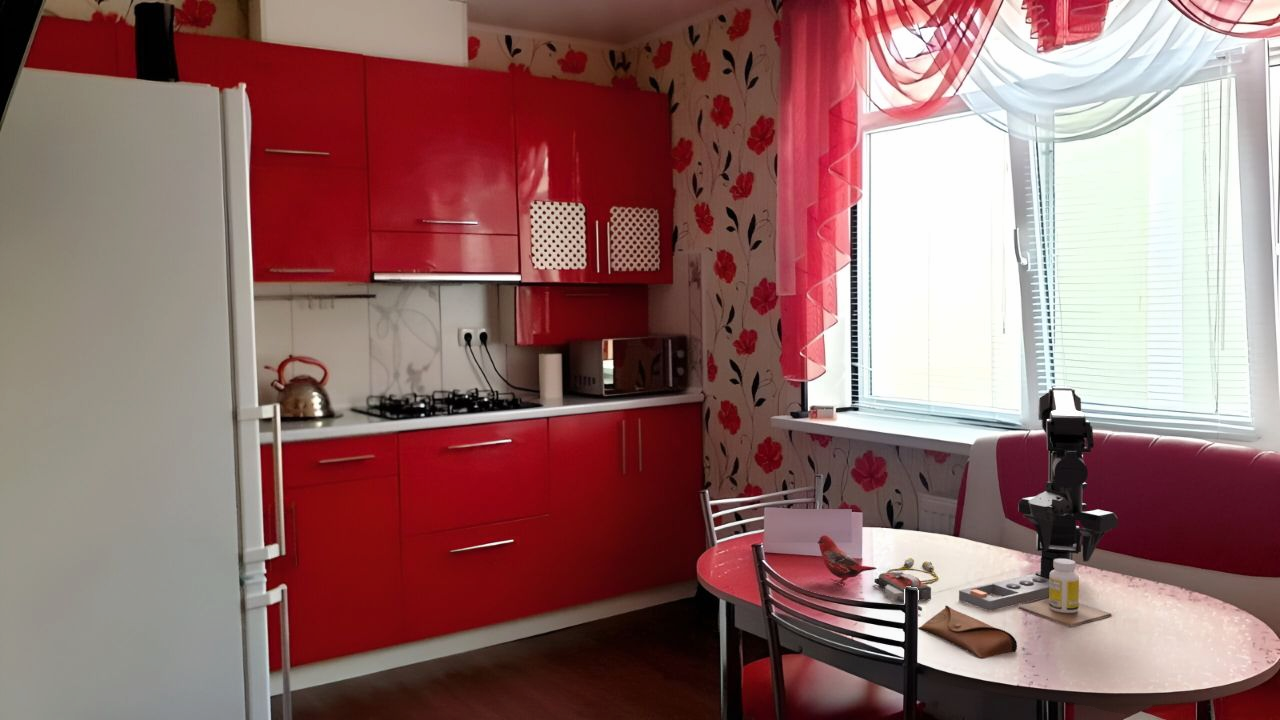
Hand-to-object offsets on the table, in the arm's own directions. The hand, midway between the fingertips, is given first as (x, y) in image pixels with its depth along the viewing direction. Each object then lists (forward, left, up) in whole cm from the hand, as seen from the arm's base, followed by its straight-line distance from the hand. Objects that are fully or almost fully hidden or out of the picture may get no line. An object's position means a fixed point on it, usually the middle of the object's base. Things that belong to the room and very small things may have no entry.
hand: (1065, 555), depth 189 cm
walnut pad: (0, 0, -12) cm, 12 cm away
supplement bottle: (0, 0, -11) cm, 11 cm away
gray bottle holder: (+1, -12, -12) cm, 17 cm away
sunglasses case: (+28, 0, -12) cm, 30 cm away
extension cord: (+7, -34, -12) cm, 37 cm away
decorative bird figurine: (+26, -35, -12) cm, 45 cm away
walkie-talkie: (+20, -23, -12) cm, 32 cm away
